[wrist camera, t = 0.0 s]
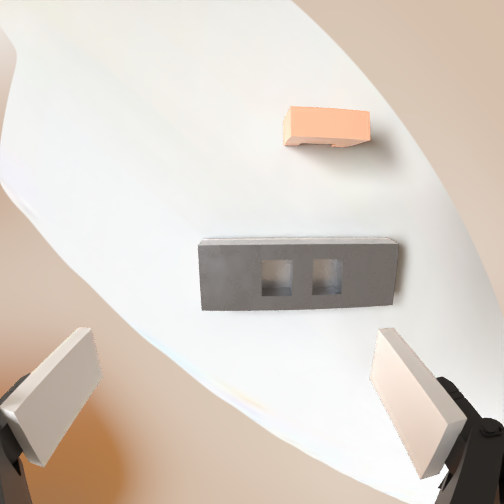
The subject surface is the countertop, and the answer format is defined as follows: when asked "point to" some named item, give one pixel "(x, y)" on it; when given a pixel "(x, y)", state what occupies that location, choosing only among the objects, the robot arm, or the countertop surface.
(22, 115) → the countertop surface
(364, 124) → the tall peach block
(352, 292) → the rail
